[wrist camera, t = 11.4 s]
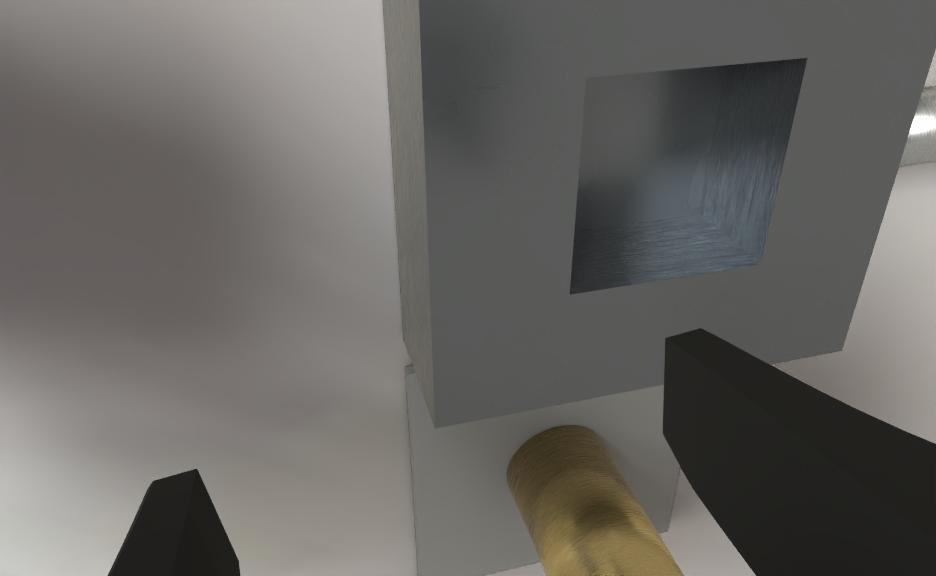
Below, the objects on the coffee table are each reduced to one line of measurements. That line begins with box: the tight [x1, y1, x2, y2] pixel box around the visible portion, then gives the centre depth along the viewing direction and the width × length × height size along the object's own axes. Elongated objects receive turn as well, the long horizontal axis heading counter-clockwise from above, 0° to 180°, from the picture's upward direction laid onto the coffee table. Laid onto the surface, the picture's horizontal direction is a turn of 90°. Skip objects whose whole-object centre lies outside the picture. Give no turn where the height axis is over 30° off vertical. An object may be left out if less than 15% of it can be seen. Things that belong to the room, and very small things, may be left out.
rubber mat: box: [405, 365, 680, 576], centre depth 27 cm, size 10×10×1 cm
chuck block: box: [383, 0, 936, 429], centre depth 20 cm, size 20×12×4 cm, turn 90°
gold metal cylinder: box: [506, 425, 684, 576], centre depth 24 cm, size 4×4×7 cm
